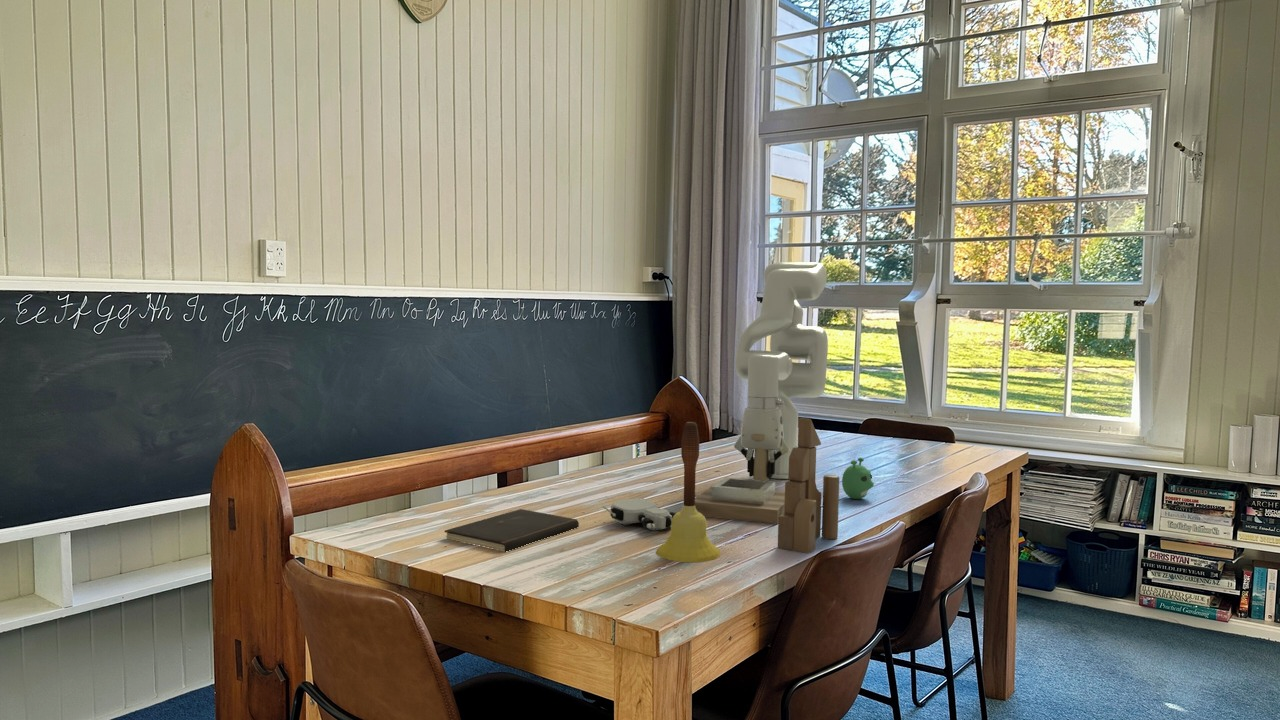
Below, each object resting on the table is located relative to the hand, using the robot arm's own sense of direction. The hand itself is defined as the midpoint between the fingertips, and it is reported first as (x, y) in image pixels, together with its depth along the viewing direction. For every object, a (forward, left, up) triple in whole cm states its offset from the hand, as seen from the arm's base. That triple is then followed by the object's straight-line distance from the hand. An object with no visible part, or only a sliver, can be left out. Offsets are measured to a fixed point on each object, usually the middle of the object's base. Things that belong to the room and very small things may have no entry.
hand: (761, 475), depth 220 cm
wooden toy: (+40, +19, -5) cm, 44 cm away
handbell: (+57, -1, -5) cm, 57 cm away
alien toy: (-5, +23, -5) cm, 24 cm away
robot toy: (+40, -16, -5) cm, 44 cm away
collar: (+18, 0, -2) cm, 18 cm away
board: (+18, 0, -5) cm, 18 cm away
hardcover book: (+57, -38, -6) cm, 69 cm away
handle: (0, 0, -4) cm, 4 cm away
